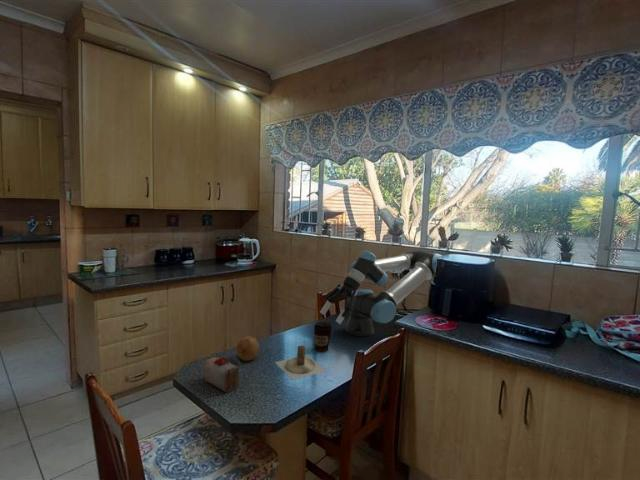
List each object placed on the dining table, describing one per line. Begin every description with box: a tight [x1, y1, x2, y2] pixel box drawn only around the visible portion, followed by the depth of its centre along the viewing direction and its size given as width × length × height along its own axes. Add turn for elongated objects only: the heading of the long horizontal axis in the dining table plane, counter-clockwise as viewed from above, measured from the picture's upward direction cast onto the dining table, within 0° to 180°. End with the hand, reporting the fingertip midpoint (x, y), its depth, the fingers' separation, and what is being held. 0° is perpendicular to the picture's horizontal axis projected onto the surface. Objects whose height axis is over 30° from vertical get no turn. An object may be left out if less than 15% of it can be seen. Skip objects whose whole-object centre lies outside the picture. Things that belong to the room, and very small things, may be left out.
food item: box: [203, 356, 240, 394], centre depth 127 cm, size 14×8×10 cm, turn 54°
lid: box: [286, 345, 315, 374], centre depth 143 cm, size 12×12×8 cm
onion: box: [236, 335, 261, 362], centre depth 148 cm, size 10×10×10 cm
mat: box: [274, 355, 327, 381], centre depth 143 cm, size 16×16×1 cm
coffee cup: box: [313, 321, 333, 353], centre depth 161 cm, size 9×8×13 cm
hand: (329, 318), depth 161 cm, fingers open, 13 cm apart
